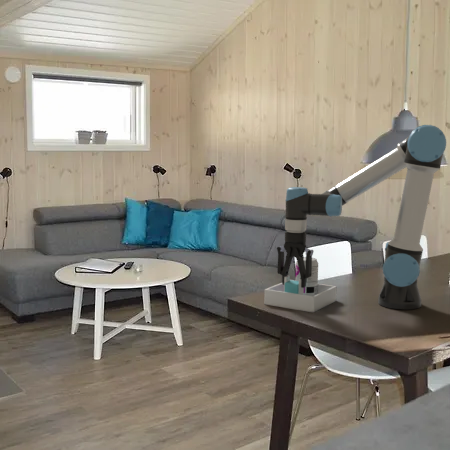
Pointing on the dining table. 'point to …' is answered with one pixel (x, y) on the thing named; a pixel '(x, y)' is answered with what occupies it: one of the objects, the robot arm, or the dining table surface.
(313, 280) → the supplement can
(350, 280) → the dining table surface
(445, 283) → the dining table surface
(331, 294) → the tote
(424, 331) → the dining table surface
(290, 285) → the cube
